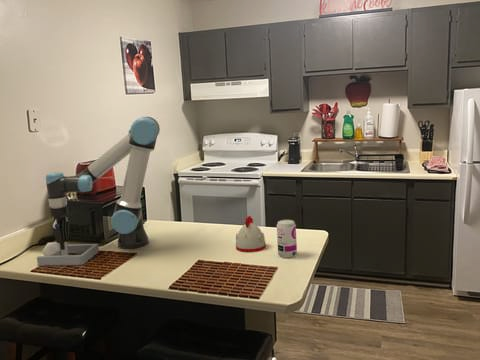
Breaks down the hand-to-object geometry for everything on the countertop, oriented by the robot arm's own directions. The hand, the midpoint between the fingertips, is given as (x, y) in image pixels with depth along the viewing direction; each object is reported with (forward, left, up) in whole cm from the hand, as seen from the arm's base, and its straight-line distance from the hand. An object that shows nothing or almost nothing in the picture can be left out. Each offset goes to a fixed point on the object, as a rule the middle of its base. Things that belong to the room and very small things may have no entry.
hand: (65, 255), depth 208 cm
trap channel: (-1, 0, -2) cm, 2 cm away
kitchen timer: (-86, -9, -2) cm, 87 cm away
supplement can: (-103, +3, -2) cm, 103 cm away
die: (+6, 0, -2) cm, 6 cm away
